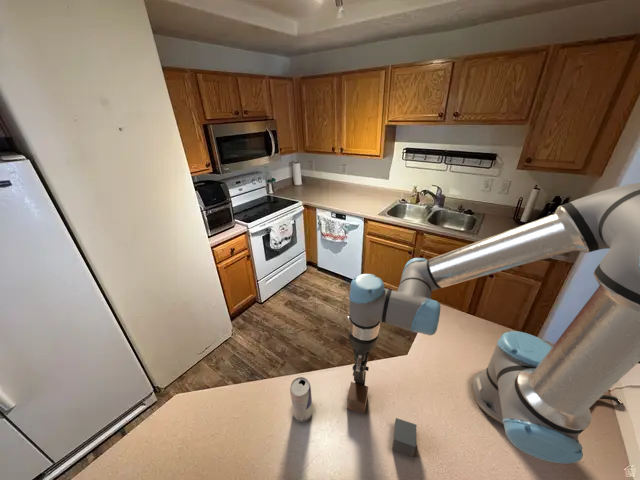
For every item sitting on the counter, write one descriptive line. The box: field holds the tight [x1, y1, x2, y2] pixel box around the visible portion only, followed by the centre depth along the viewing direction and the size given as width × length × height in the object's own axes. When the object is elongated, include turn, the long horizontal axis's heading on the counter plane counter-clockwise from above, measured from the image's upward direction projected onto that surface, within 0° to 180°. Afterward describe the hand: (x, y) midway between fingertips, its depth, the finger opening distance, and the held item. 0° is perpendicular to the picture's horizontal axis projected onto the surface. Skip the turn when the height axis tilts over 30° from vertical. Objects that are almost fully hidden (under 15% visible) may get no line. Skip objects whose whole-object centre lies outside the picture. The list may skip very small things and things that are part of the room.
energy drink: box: [289, 376, 314, 423], centre depth 69 cm, size 5×5×12 cm
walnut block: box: [346, 381, 369, 415], centre depth 73 cm, size 5×5×5 cm
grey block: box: [391, 417, 417, 458], centre depth 64 cm, size 5×5×5 cm
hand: (359, 386), depth 76 cm, fingers closed
